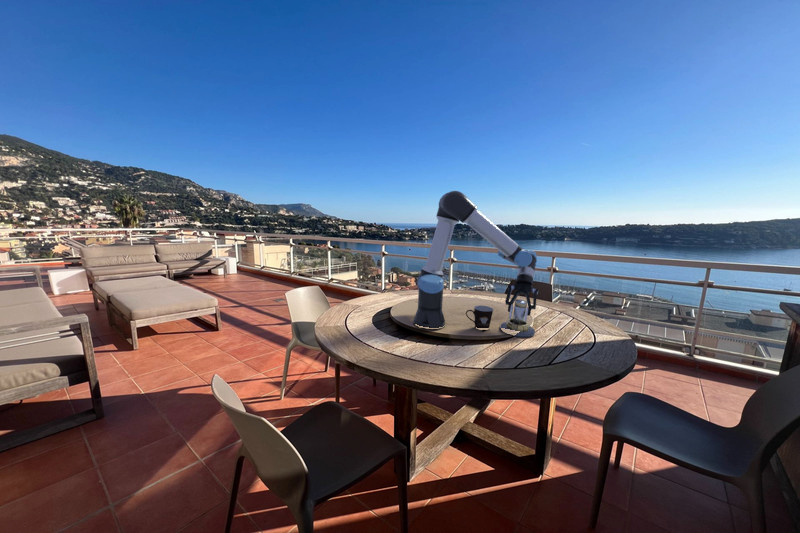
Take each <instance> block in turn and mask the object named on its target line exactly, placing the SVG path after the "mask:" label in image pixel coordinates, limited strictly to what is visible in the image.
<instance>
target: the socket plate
mask: <svg viewBox="0 0 800 533" xmlns="http://www.w3.org/2000/svg"><path fill="white" fill-rule="evenodd" d="M512 321H513V317H511V320H510V319H509V318H507V319H506V321H505V322H502V323H501V324H500V326H499V328H500V327H501V328H505V329H510V330H515V331H520V332H519V333H517V334H516V335H515V336H513V337H514V338H521V339H527V338H528V339H529V338H532V337H534V336H535V334H536V329H534V327H532V326H530V324H531V323H530V322H529V321H528V320H527V321H526V322H525V319H524V325H517V324H513V323H512Z"/></svg>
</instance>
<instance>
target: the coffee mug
mask: <svg viewBox="0 0 800 533" xmlns="http://www.w3.org/2000/svg"><path fill="white" fill-rule="evenodd" d="M469 312H472V313H473V315H474V319H473V318H470V317H469V316H468V313H469ZM493 312H494V308H493V307H490V306H488V305H474V308H473V310H472V309H468V310H466V312H465V315H466V318H467V319H469V320H470V321H471V322H472V323H474V328H475V327H477V328H489V329H490V326H491V320H492V316H493Z"/></svg>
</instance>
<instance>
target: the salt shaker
mask: <svg viewBox="0 0 800 533" xmlns="http://www.w3.org/2000/svg"><path fill="white" fill-rule="evenodd" d="M527 307H528V304H527V300H523V299H516V300H515V302H514V305H513V313H512V318H513V321H512V323H513V324H517V325H524V320H525V314H526V308H527Z"/></svg>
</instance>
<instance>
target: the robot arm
mask: <svg viewBox="0 0 800 533" xmlns="http://www.w3.org/2000/svg"><path fill="white" fill-rule="evenodd" d="M436 218H437V224H436V228H435V231H434V234H433V238H432V242H431V245H430V248H429V252H428V255H427V260H426V263H425V265H424V266H422V267H421V270H420V273H419V275H418V278H417V280H416V285H417V286H416V287H417V291H418V294H417V295H418V297H417V310H416V313H415V315H414V318H413V324H414V323H415V324H417V325H419V326H423V327H429V328H439V327H443V326H444V325H445V326H446V321H445V316H444V313H443V302H444V301H443V299H444V287H445V284H444V279H443V277H444V272H443V266H444V262H445V259H446V256H447V253H448V249H449V246H450V242H451V241H452V240H451V239H452V236H453V233H454V229H455V225H457V224H459V223H460V222H461V223H465V224H467V226H469V227H470V228H471V229H473V230H474V231H475V232H476V233H478V234H479V235H480V236H481V237H482V238H483V239H484V240H486V241H487V242H488V243H489V244H491V246H493V247H494V248H495V249H497V256H498V257H500V258H501V259H504V260H505V261H508V262H510V263H512V264H515V265H516V266H517V267H518V269H517V274H516V280H515V284H514V285H511V284H508V286H507V287H508V288H507V289H508V290H507V294H506V297H505V300H504V301H505V302H504V303H505V305H506V306H508V308H507V312H508V314H509V315H508V319H510V320H511V318H512V317H513V312H514V304H515V300H517V298H518V297H519V296H520V295H522V296H525V298H526V300H525V301H526V302H527V307H526V312H525V319H524V320H525V322H526V321H528V317H529V316H531V313H532V310H537V308H536V307H537V298H538V297H537V296H538V294H539V289H538V288H534V287H533V283H534V277H535V271H536V265H537V260H538V258H537V255H538V254H537V253H536V252H535V251H534V250H532V249H531V250H530V249H524V248H522V247H521V246H520V244H518V243H517V242H515V240H514V239H512V238H511V237H510V236H508V235H507V234H506V233H505V232H504V231H503V230H502V229H500V228H499V227H498V226H497V225H495V224H494V222H492V221H491V220H490V219H489V218H487V216H485V215H484V214H483V213H482V212H481V211H479V210H478V206H477V205H476V204H475V203H474V202H473V201H471V199H469V197H467V195H465V193H463V192H461V191H458V190H451V191H449V192H446V193H445V194H443V195H442V196H441V197H440V199H439V201H438V209H437V212H436ZM513 290H515V292H514V294H513V296H512V297H511V295H512V291H513ZM531 292H532V294H533V302H532V303H531V299H530V294H531ZM510 298H511V299H510ZM445 326H444V327H445ZM444 327H443V328H444Z"/></svg>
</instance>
